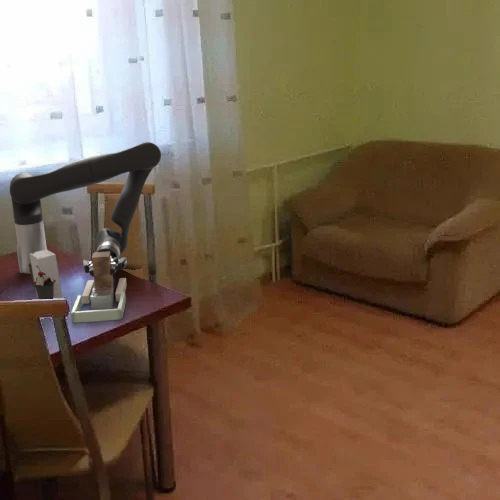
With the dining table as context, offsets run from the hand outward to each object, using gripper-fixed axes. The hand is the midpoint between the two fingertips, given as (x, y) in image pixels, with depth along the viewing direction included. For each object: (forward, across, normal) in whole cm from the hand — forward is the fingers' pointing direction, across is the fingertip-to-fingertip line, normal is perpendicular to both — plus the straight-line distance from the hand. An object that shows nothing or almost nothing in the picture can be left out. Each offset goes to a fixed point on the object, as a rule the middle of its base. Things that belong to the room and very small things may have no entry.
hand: (101, 272), depth 230 cm
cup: (-15, -21, +9) cm, 28 cm away
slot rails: (-4, 0, +8) cm, 9 cm away
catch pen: (+10, 0, +8) cm, 13 cm away
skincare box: (-3, -17, +9) cm, 20 cm away
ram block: (-3, 0, +7) cm, 7 cm away
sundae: (+10, -15, +9) cm, 20 cm away
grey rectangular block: (+6, 0, +8) cm, 10 cm away
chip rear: (+2, 0, +8) cm, 9 cm away
